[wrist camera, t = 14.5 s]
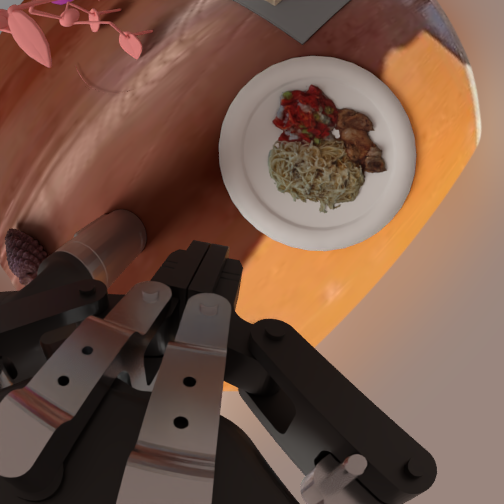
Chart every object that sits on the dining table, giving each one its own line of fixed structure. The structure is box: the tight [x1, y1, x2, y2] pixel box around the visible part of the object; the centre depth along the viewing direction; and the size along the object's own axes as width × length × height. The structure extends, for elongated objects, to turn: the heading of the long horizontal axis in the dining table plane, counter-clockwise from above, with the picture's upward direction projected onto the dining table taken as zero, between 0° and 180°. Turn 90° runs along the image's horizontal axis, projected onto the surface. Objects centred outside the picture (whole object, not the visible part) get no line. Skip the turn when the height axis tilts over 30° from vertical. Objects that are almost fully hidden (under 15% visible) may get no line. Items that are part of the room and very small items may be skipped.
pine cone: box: [5, 228, 47, 285], centre depth 49 cm, size 18×10×10 cm
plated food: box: [219, 56, 416, 251], centre depth 39 cm, size 30×30×3 cm
